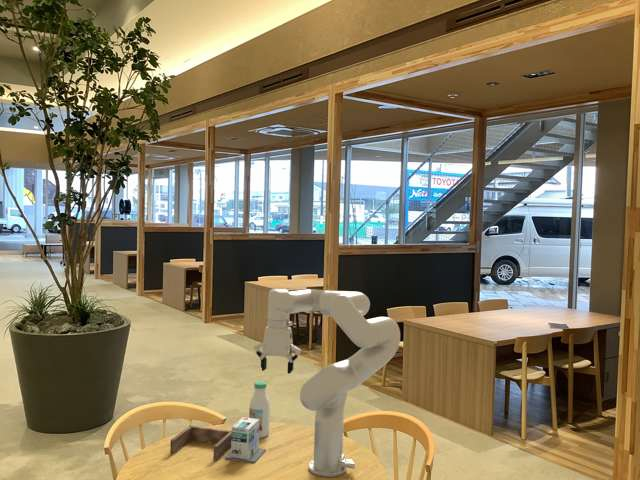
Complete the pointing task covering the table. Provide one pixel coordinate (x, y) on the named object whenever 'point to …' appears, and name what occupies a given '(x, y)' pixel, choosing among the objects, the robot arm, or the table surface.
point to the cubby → (203, 439)
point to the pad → (251, 459)
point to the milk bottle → (260, 408)
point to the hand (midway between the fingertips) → (276, 371)
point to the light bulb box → (245, 438)
